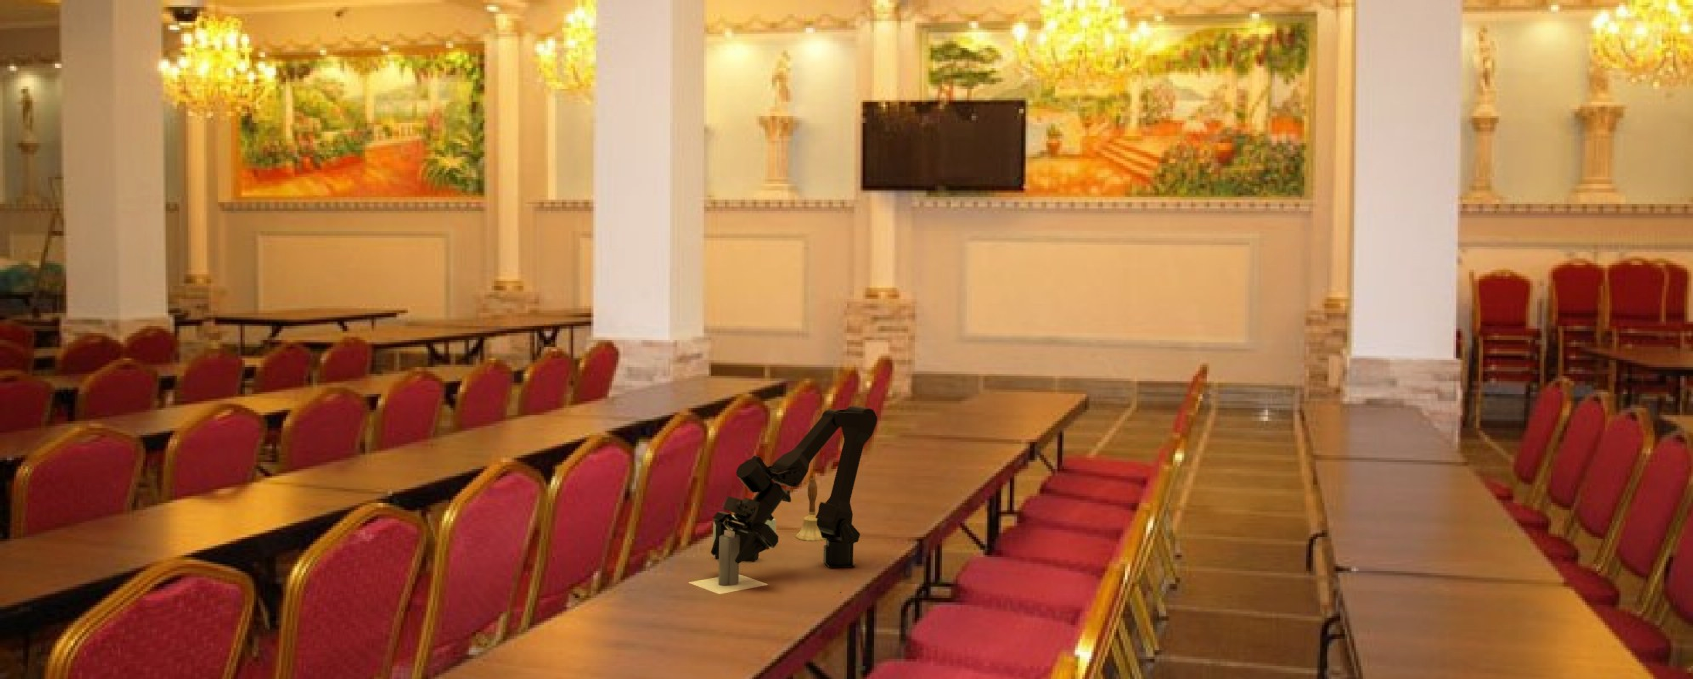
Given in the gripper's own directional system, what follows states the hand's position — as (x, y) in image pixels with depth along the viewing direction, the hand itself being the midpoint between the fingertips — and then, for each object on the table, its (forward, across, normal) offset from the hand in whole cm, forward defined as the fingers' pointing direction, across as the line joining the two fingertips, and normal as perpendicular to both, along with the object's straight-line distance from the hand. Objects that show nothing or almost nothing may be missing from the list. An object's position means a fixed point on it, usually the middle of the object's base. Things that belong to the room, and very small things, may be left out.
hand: (724, 558), depth 307 cm
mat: (+4, 0, +6) cm, 7 cm away
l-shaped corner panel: (-14, -27, +24) cm, 39 cm away
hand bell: (-30, -26, +39) cm, 56 cm away
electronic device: (-7, -18, +17) cm, 26 cm away
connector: (+3, 0, +5) cm, 6 cm away
